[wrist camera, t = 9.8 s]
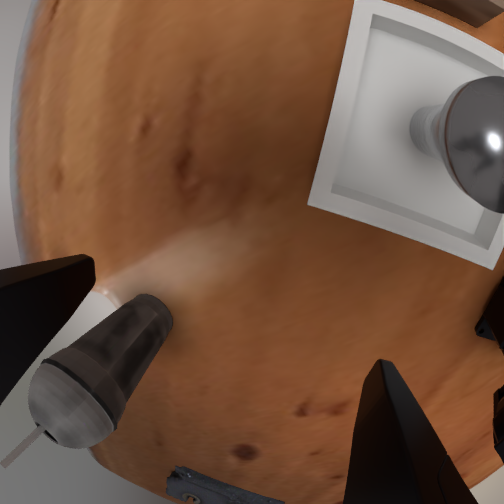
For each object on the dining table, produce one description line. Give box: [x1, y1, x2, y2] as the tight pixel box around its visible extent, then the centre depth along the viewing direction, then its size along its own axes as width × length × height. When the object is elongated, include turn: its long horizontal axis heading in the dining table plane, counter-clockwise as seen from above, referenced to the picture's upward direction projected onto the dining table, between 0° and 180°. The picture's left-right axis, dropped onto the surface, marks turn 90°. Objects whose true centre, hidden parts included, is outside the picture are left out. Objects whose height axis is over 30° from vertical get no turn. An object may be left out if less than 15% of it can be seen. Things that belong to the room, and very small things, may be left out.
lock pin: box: [409, 76, 504, 214], centre depth 10 cm, size 4×4×9 cm
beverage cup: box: [0, 294, 173, 468], centre depth 19 cm, size 7×7×20 cm
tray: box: [307, 0, 504, 270], centre depth 14 cm, size 12×12×4 cm
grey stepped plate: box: [166, 466, 285, 504], centre depth 43 cm, size 15×22×5 cm
